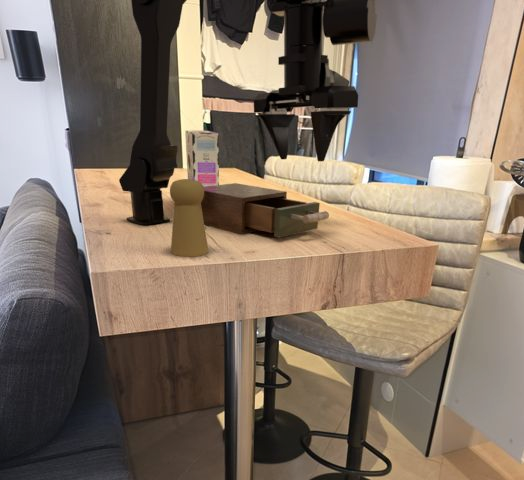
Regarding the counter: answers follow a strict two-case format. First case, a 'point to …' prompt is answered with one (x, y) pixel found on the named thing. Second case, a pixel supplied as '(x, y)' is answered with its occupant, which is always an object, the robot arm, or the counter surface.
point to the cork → (188, 219)
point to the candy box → (203, 156)
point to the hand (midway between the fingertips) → (301, 160)
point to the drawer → (283, 216)
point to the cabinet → (232, 205)
